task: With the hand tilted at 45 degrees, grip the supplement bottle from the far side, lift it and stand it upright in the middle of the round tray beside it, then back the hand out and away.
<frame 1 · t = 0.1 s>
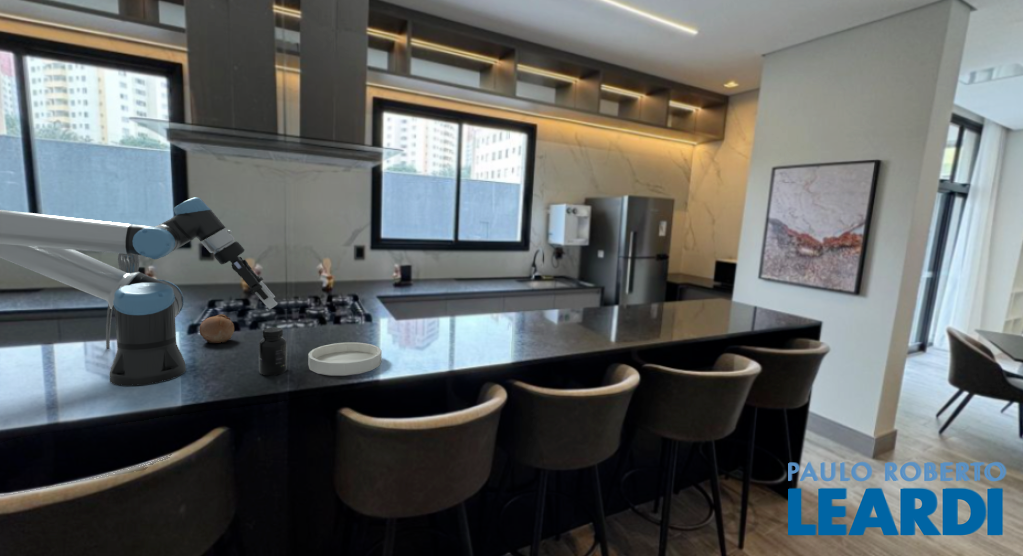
hand: (272, 302, 137), 15 cm above the worktop, tool tilted 35°, fingers open, 13 cm apart
supplement bottle: (273, 372, 120), on the worktop
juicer: (136, 347, 134), on the worktop
onion: (217, 342, 143), on the worktop
round tray: (345, 363, 130), on the worktop
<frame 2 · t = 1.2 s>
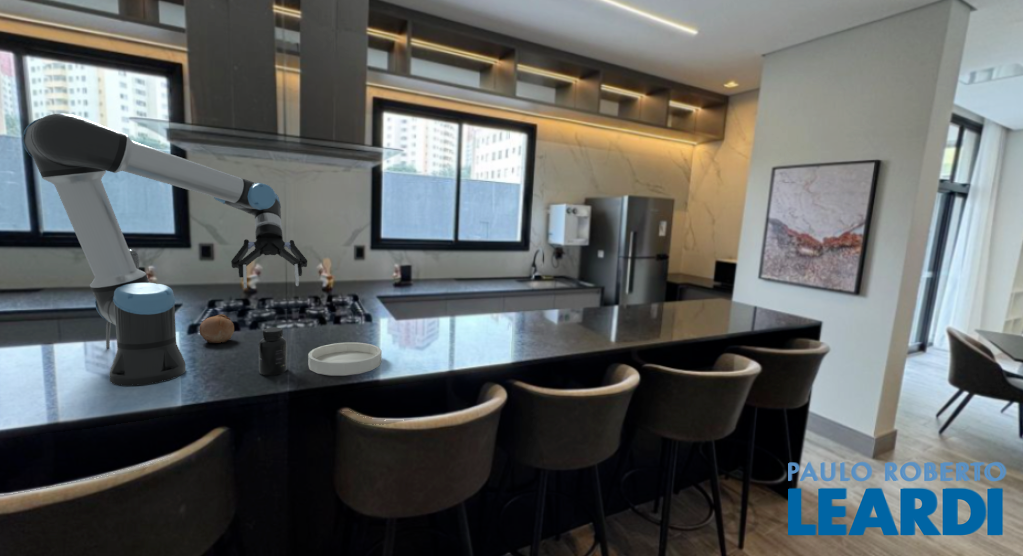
hand: (272, 284, 129), 22 cm above the worktop, tool tilted 45°, fingers open, 13 cm apart
nothing on the worktop moved.
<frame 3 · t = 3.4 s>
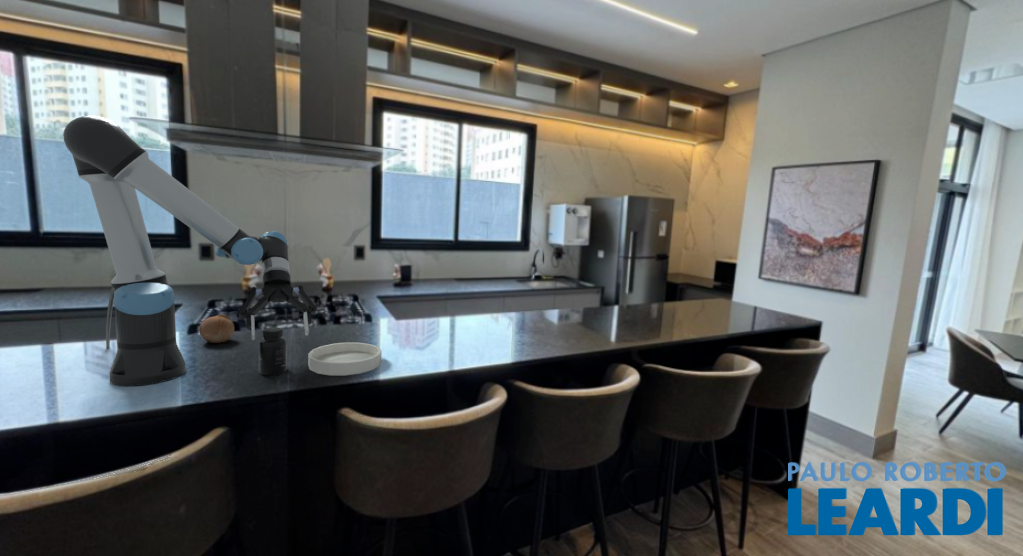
hand: (280, 335, 124), 9 cm above the worktop, tool tilted 45°, fingers open, 13 cm apart
nothing on the worktop moved.
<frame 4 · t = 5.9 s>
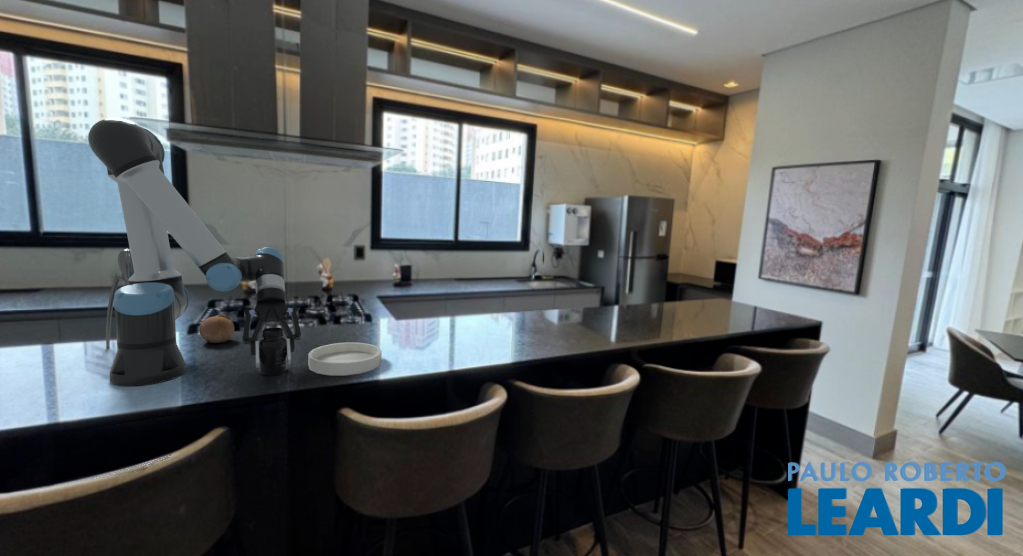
hand: (273, 363, 117), 4 cm above the worktop, tool tilted 45°, fingers closed on supplement bottle, 7 cm apart
supplement bottle: (273, 372, 120), on the worktop, touching gripper
everything else where it was.
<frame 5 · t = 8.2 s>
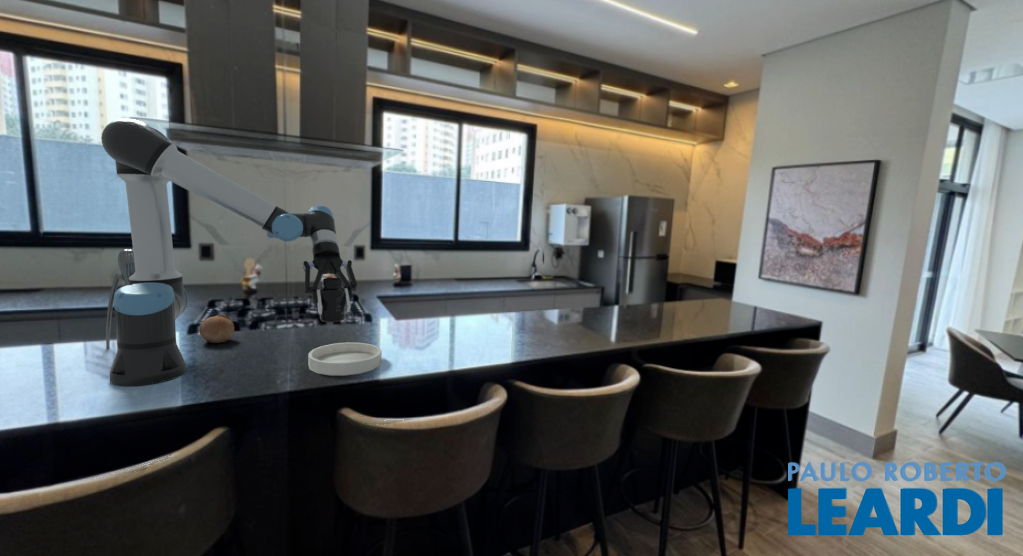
hand: (334, 310, 123), 17 cm above the worktop, tool tilted 45°, fingers closed on supplement bottle, 7 cm apart
supplement bottle: (333, 320, 126), point 13 cm above the worktop, touching gripper
everything else where it was.
when the fingers open (6 cm above the worktop, at t = 10.7 s): supplement bottle drops 1 cm, resting on round tray.
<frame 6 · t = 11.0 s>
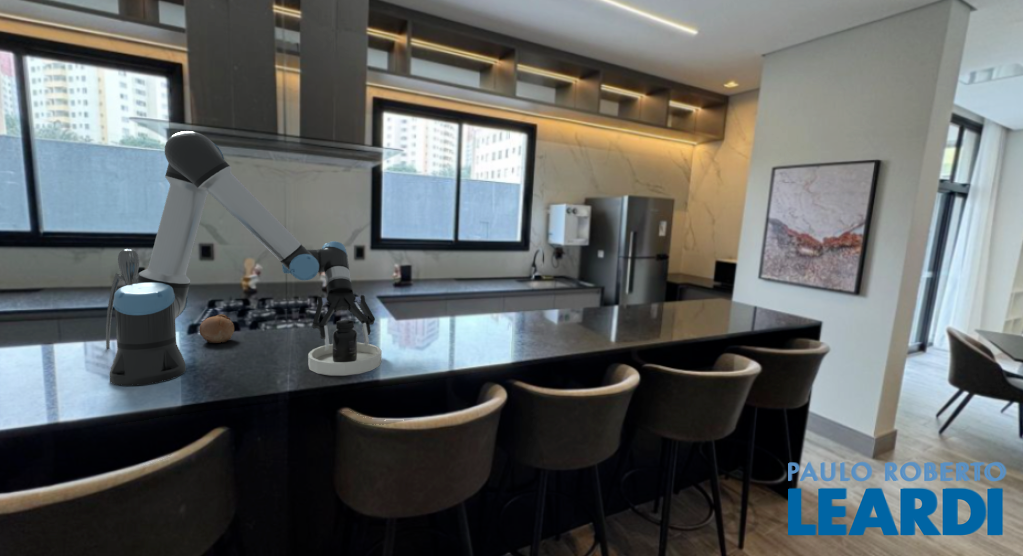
hand: (347, 345, 126), 6 cm above the worktop, tool tilted 45°, fingers open, 10 cm apart
supplement bottle: (345, 361, 130), point 1 cm above the worktop, touching round tray
everything else where it was.
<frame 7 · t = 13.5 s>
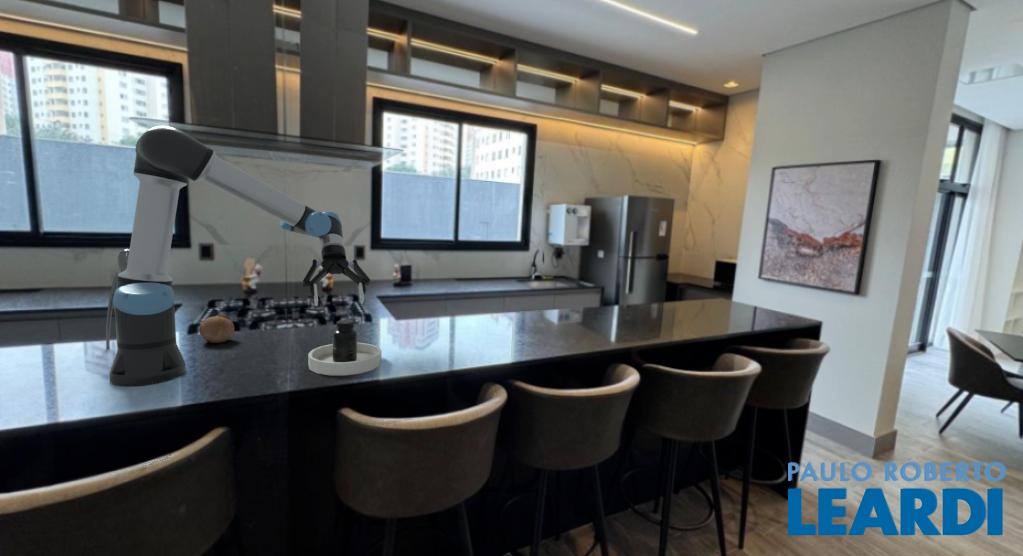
hand: (340, 302, 136), 16 cm above the worktop, tool tilted 45°, fingers open, 13 cm apart
nothing on the worktop moved.
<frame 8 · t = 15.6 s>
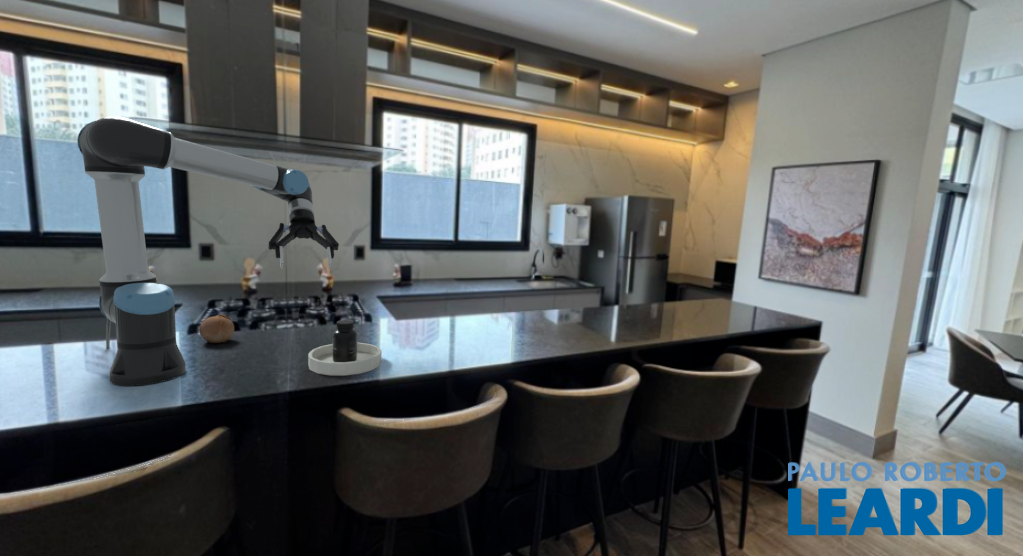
hand: (306, 265, 135), 28 cm above the worktop, tool tilted 45°, fingers open, 13 cm apart
nothing on the worktop moved.
at the end: supplement bottle inside the target area on the round tray (0.2 cm from its centre), point 0.6 cm above the round tray's base; supplement bottle tilted 0°; the gripper is holding nothing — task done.
